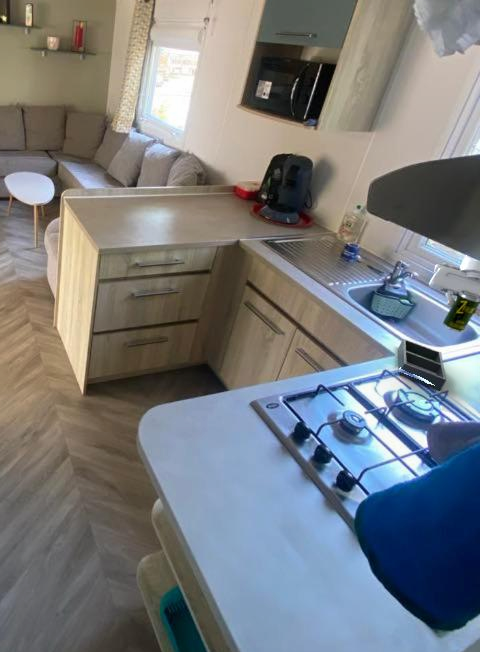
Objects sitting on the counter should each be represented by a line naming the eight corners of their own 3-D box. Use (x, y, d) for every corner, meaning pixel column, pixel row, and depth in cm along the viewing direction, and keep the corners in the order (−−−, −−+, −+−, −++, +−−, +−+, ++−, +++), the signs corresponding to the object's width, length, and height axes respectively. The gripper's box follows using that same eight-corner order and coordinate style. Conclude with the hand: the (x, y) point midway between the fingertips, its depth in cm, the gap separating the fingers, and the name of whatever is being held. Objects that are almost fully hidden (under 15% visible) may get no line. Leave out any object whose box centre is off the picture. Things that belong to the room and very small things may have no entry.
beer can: (439, 321, 135) (457, 288, 130) (459, 326, 133) (478, 293, 128) (445, 329, 130) (464, 295, 125) (465, 334, 128) (485, 300, 124)
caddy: (434, 362, 130) (441, 352, 129) (439, 391, 117) (446, 380, 115) (397, 348, 135) (403, 338, 133) (398, 374, 122) (404, 363, 120)
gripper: (440, 256, 135) (425, 292, 131) (524, 281, 124) (510, 321, 120) (434, 265, 140) (419, 300, 136) (514, 290, 129) (500, 328, 125)
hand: (462, 310), depth 128 cm, fingers closed on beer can, 5 cm apart
